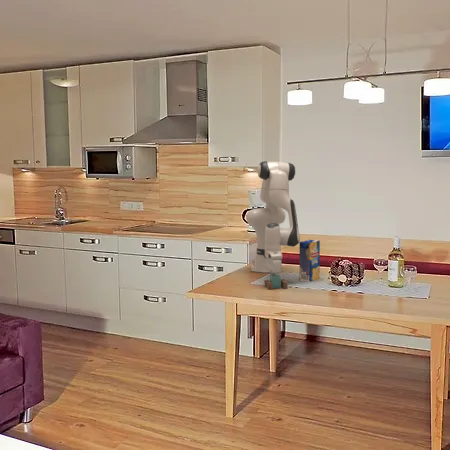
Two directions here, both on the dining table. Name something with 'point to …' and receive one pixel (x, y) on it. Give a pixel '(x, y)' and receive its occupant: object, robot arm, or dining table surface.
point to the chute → (269, 284)
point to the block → (275, 281)
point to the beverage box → (309, 260)
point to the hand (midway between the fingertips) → (273, 278)
